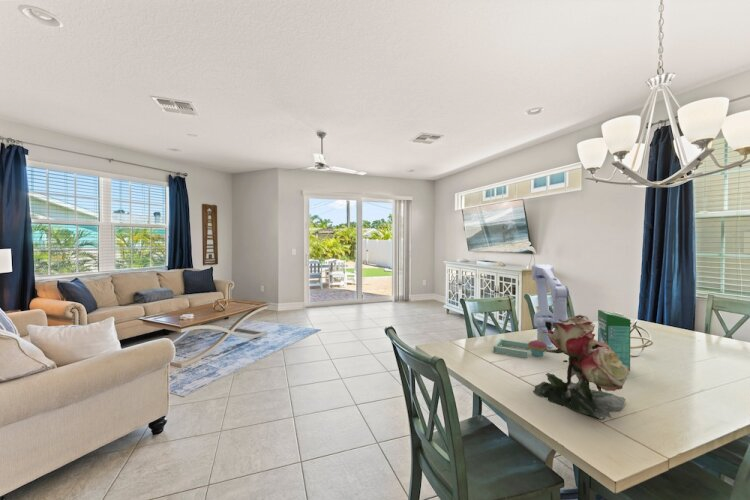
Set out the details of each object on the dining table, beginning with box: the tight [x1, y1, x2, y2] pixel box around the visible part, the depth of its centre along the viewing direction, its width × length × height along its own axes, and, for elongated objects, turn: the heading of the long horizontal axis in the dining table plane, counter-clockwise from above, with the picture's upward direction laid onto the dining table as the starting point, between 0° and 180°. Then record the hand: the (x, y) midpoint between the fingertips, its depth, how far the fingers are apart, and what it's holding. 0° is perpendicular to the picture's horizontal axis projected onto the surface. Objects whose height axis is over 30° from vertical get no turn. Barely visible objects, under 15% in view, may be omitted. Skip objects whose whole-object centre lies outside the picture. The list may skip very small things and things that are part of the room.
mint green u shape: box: [493, 338, 531, 359], centre depth 172 cm, size 15×16×3 cm
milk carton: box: [597, 309, 631, 372], centre depth 149 cm, size 9×9×25 cm
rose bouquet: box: [532, 314, 631, 421], centre depth 120 cm, size 26×29×30 cm
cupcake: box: [527, 331, 548, 357], centre depth 165 cm, size 9×8×12 cm
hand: (559, 339), depth 160 cm, fingers open, 7 cm apart
